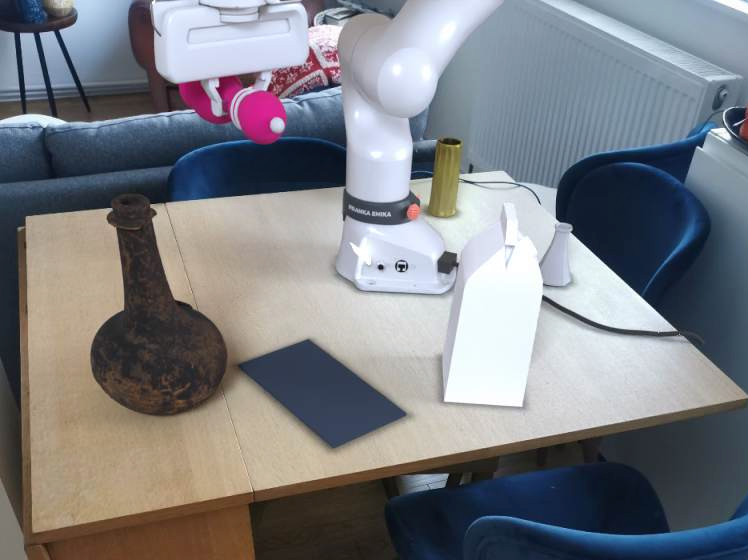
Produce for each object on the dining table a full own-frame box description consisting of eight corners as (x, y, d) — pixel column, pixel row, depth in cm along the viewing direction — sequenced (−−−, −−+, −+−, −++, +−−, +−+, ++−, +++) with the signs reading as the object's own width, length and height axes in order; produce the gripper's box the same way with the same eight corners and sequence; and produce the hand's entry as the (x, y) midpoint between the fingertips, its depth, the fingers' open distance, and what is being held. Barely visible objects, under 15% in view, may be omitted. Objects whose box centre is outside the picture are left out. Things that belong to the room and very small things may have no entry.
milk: (442, 357, 120) (464, 190, 102) (514, 362, 120) (549, 196, 102) (444, 401, 111) (468, 227, 93) (522, 406, 111) (561, 234, 93)
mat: (238, 366, 114) (237, 364, 114) (308, 341, 121) (308, 338, 120) (333, 448, 101) (333, 446, 101) (406, 415, 108) (406, 412, 108)
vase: (425, 215, 159) (432, 144, 149) (429, 204, 164) (436, 134, 154) (454, 219, 159) (463, 147, 149) (457, 208, 163) (466, 137, 153)
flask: (528, 281, 140) (539, 229, 133) (537, 266, 145) (548, 214, 138) (566, 291, 138) (579, 238, 132) (574, 274, 143) (587, 223, 136)
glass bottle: (248, 373, 113) (233, 182, 94) (200, 445, 100) (172, 241, 81) (136, 353, 115) (100, 162, 96) (76, 420, 102) (20, 216, 83)
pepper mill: (199, 125, 106) (279, 171, 95) (164, 85, 100) (245, 129, 89) (231, 84, 106) (315, 125, 95) (198, 41, 100) (283, 80, 89)
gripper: (161, -5, 82) (178, 131, 91) (315, -18, 92) (316, 106, 101) (135, -16, 85) (153, 117, 95) (286, -27, 95) (289, 94, 105)
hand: (239, 111), depth 98 cm, fingers closed on pepper mill, 4 cm apart
